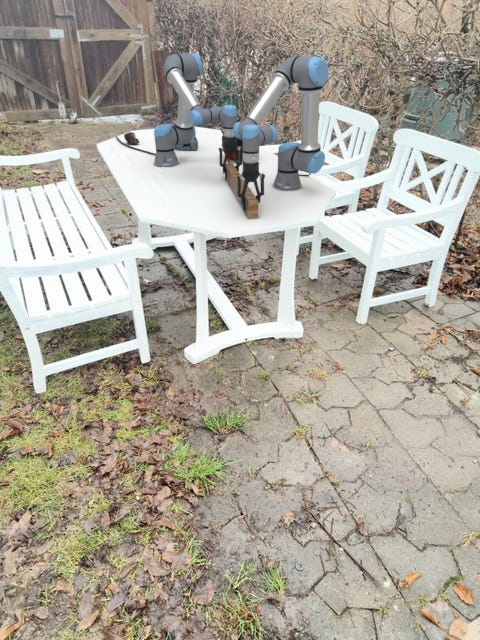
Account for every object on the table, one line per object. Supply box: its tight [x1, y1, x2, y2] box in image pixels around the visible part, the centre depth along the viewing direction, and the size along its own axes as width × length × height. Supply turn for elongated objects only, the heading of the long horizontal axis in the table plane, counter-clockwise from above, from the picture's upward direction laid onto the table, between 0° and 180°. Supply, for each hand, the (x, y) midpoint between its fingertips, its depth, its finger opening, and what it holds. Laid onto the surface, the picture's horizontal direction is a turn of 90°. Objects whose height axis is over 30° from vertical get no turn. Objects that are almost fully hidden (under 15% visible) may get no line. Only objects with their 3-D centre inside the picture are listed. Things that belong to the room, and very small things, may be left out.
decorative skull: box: [220, 129, 244, 164], centre depth 296 cm, size 21×24×25 cm
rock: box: [123, 131, 140, 145], centre depth 337 cm, size 12×9×10 cm
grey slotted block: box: [174, 136, 199, 151], centre depth 321 cm, size 17×18×20 cm
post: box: [225, 163, 259, 219], centre depth 240 cm, size 65×4×8 cm, turn 11°
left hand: (231, 177), depth 262 cm, fingers open, 5 cm apart
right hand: (250, 209), depth 220 cm, fingers open, 5 cm apart
